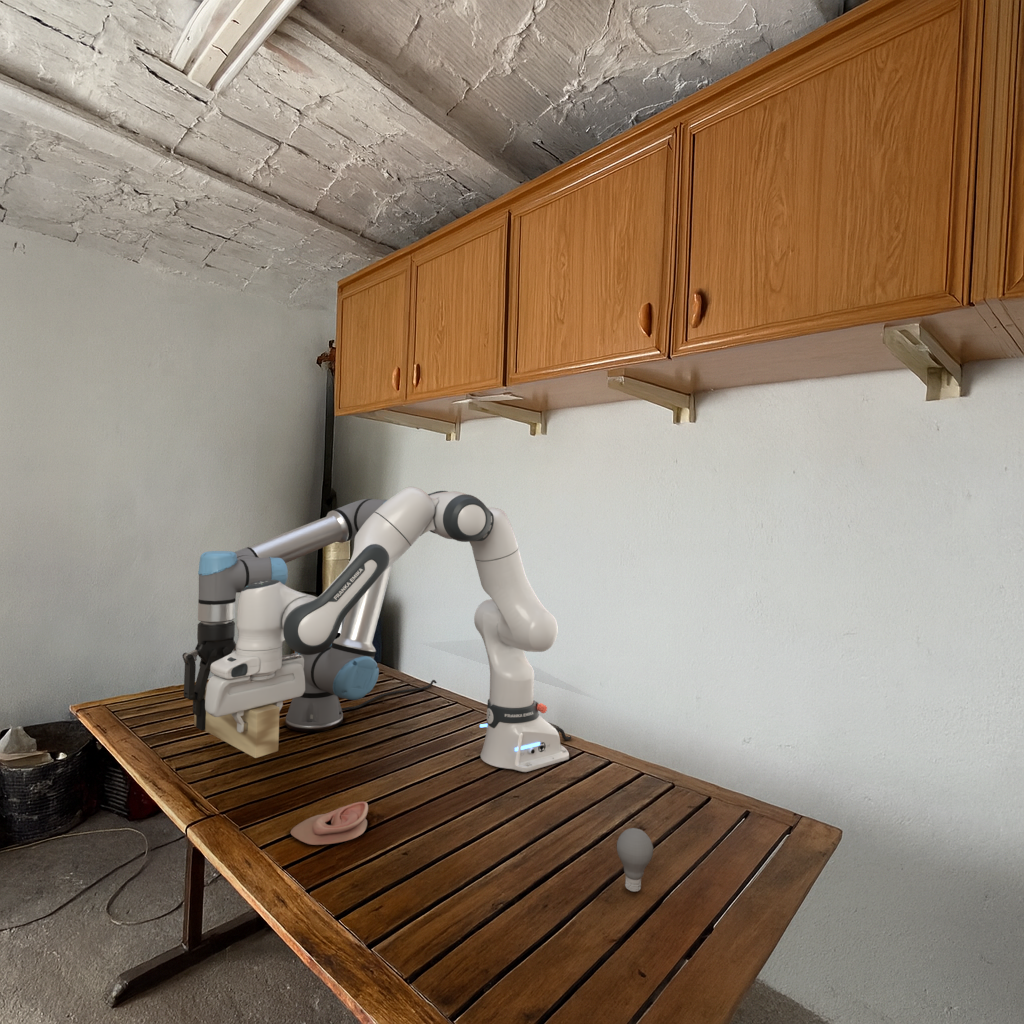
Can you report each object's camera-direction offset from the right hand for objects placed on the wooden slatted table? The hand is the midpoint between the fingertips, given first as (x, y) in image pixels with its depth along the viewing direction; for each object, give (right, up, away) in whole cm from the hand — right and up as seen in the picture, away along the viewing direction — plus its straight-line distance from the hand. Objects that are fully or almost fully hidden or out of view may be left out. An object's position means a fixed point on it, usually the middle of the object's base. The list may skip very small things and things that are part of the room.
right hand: (257, 727), depth 129 cm
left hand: (-14, -3, +11) cm, 18 cm away
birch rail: (-7, -4, +6) cm, 10 cm away
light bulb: (+72, -19, -24) cm, 79 cm away
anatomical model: (+17, -17, -9) cm, 26 cm away
